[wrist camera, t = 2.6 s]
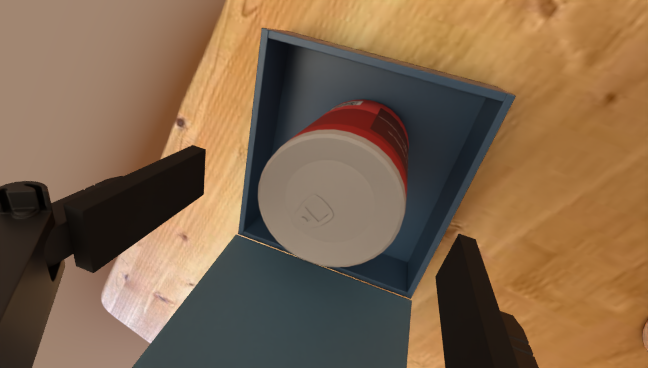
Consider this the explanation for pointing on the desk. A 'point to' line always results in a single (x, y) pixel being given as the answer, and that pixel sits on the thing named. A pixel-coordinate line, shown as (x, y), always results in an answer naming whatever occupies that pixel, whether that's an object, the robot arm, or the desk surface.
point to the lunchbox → (413, 110)
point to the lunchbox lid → (281, 317)
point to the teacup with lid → (645, 335)
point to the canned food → (339, 186)
